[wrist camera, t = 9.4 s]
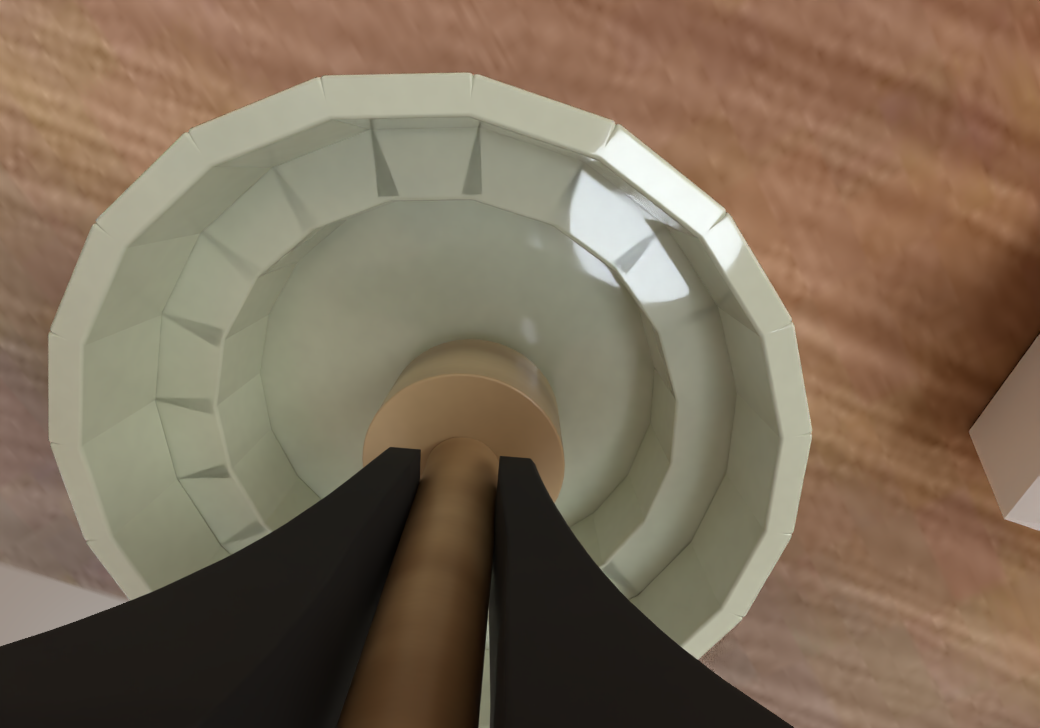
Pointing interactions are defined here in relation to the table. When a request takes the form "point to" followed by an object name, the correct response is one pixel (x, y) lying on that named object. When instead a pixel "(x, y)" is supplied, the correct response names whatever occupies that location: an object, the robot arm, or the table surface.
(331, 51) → the table surface
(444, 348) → the stirrer
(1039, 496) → the low-poly chess knight
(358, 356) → the bowl
